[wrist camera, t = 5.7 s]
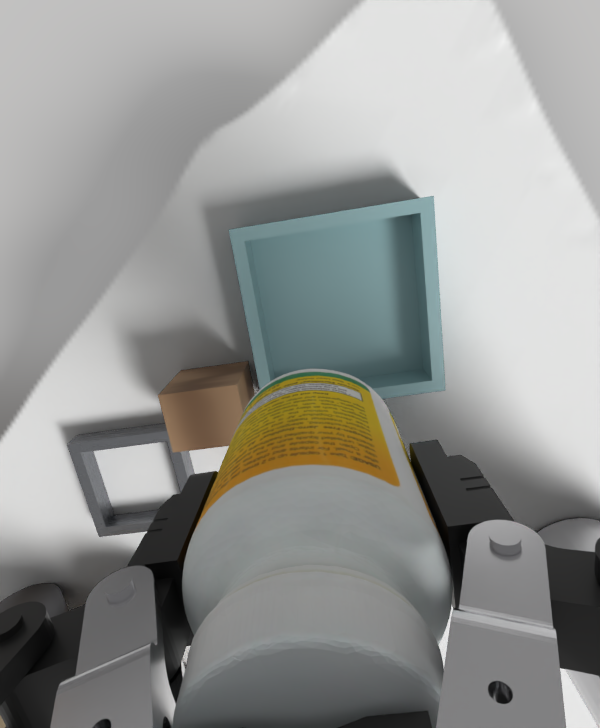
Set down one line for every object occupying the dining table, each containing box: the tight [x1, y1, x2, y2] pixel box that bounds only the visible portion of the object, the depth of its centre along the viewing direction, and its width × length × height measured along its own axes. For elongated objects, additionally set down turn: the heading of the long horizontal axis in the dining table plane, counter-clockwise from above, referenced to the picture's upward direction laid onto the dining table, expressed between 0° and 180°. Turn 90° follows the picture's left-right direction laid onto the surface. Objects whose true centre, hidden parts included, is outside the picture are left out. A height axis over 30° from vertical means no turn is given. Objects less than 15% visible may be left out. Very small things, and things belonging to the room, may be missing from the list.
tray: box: [229, 196, 445, 399], centre depth 29 cm, size 12×12×3 cm
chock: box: [158, 361, 255, 453], centre depth 30 cm, size 5×4×5 cm
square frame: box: [67, 423, 194, 537], centre depth 34 cm, size 8×8×2 cm
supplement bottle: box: [172, 369, 452, 728], centre depth 11 cm, size 5×5×10 cm
